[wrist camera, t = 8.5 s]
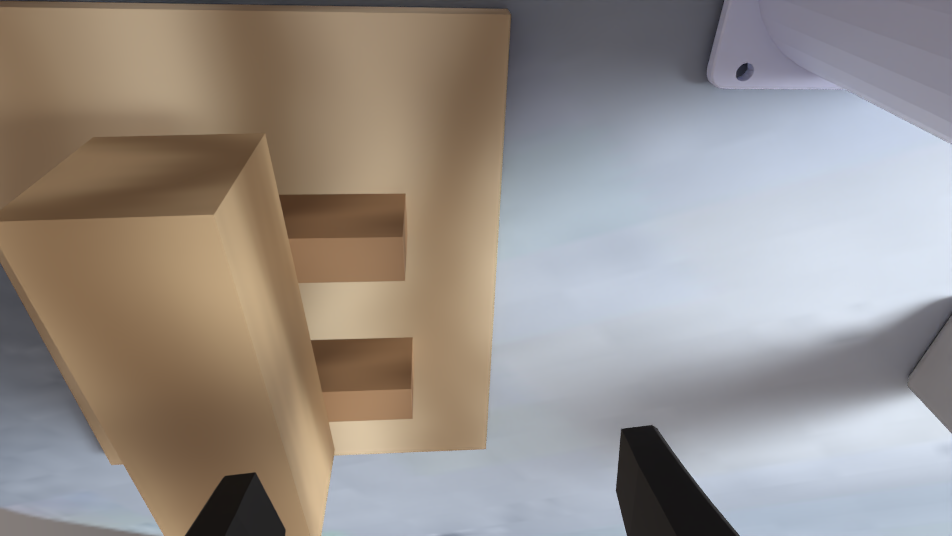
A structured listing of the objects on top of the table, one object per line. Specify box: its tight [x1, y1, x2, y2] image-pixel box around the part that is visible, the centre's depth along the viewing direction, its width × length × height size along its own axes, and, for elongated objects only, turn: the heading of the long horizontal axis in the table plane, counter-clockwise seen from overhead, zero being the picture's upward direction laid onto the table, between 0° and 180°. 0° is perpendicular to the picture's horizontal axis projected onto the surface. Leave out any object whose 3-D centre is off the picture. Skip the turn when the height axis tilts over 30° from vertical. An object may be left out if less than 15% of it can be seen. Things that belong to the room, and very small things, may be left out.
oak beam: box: [0, 133, 335, 536], centre depth 15 cm, size 4×12×4 cm, turn 0°
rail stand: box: [0, 1, 511, 465], centre depth 19 cm, size 16×18×3 cm
